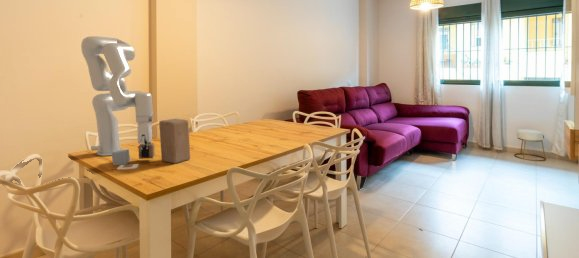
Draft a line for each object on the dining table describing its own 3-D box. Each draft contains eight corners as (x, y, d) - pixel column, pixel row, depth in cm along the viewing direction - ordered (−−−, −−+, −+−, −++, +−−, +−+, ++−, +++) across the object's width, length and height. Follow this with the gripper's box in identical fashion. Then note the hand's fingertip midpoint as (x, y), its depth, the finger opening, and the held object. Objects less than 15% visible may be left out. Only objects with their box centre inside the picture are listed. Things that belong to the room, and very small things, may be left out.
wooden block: (174, 164, 152) (171, 122, 148) (161, 161, 157) (158, 120, 154) (191, 159, 160) (189, 119, 157) (177, 156, 166) (175, 118, 162)
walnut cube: (139, 158, 153) (138, 146, 152) (141, 155, 159) (141, 143, 158) (152, 158, 155) (151, 146, 154) (154, 154, 160) (154, 143, 159)
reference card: (117, 169, 144) (117, 167, 144) (120, 166, 149) (120, 164, 149) (136, 168, 146) (136, 166, 146) (139, 165, 151) (138, 163, 150)
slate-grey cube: (113, 165, 151) (111, 152, 150) (116, 161, 157) (115, 149, 156) (126, 164, 152) (125, 152, 151) (130, 160, 158) (129, 149, 157)
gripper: (140, 115, 161) (142, 150, 164) (131, 122, 144) (134, 160, 148) (156, 115, 162) (158, 150, 166) (149, 121, 146) (151, 160, 149)
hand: (146, 154), depth 157 cm, fingers closed on walnut cube, 6 cm apart
